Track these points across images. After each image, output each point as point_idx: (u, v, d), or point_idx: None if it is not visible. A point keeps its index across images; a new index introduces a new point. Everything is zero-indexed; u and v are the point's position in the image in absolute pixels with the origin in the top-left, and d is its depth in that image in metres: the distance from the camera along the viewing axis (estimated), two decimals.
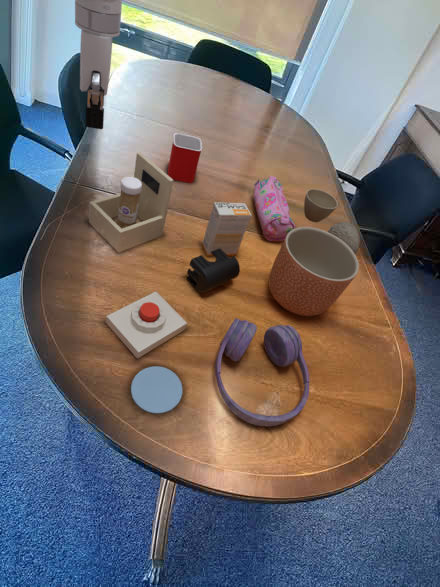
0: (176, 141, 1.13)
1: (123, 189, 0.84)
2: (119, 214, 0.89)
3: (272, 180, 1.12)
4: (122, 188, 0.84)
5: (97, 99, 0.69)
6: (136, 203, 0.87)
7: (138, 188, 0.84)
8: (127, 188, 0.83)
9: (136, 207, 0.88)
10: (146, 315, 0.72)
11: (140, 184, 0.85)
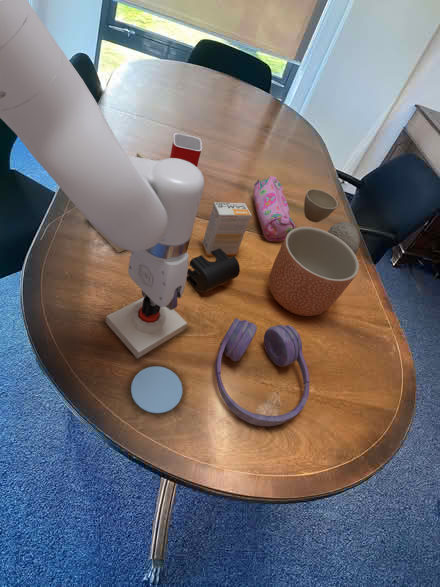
0: (176, 141, 1.13)
1: None
2: None
3: (272, 180, 1.12)
4: None
5: None
6: None
7: None
8: None
9: None
10: (146, 317, 0.72)
11: None
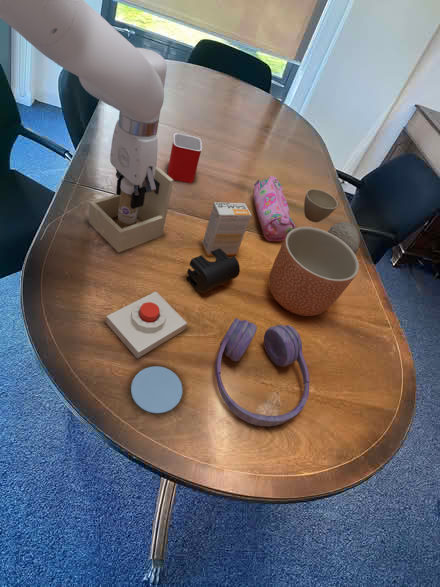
0: (176, 141, 1.13)
1: (123, 189, 0.84)
2: (119, 214, 0.89)
3: (272, 180, 1.12)
4: (122, 188, 0.84)
5: None
6: None
7: None
8: (127, 188, 0.83)
9: None
10: (146, 315, 0.72)
11: (140, 184, 0.85)
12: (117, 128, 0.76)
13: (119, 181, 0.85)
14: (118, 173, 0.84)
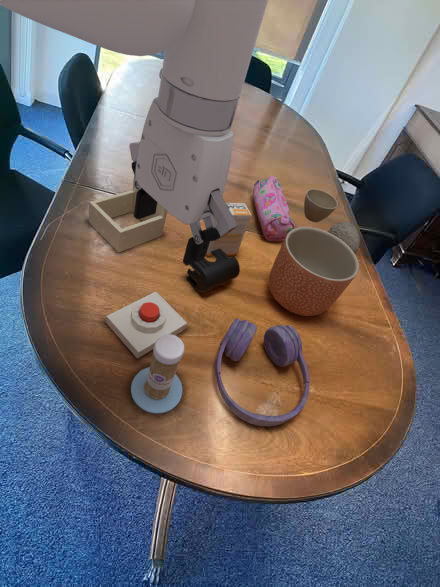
0: None
1: (158, 358, 0.58)
2: (149, 379, 0.63)
3: (272, 180, 1.12)
4: (157, 356, 0.58)
5: (229, 232, 0.42)
6: (175, 369, 0.61)
7: (179, 356, 0.58)
8: (165, 358, 0.57)
9: (174, 372, 0.62)
10: (146, 315, 0.72)
11: (182, 348, 0.59)
12: (153, 115, 0.38)
13: (140, 195, 0.47)
14: None
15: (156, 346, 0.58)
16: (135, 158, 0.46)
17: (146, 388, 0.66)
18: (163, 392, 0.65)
